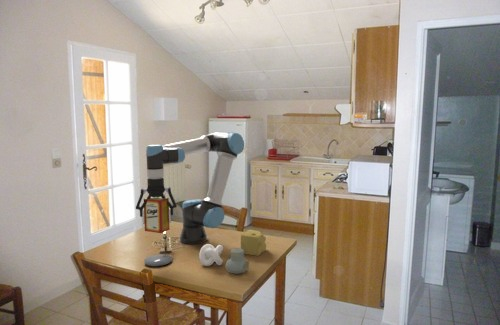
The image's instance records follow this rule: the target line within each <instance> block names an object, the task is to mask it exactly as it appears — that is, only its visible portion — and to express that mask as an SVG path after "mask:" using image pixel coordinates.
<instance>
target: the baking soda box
mask: <svg viewBox="0 0 500 325" xmlns="http://www.w3.org/2000/svg"><path fill="white" fill-rule="evenodd" d="M165 197H166V198H162V197H151V198H150V199H147V197H146V198H143V203H144V202H145V200H146V199H147V204H146V205H145V206H144V208H143V209H144V220H145V224H144V231H145V232H150V233H157V234H164V232H165V231H166V232H168V231H170V229H169V228H170V223H169V208H170V207H169V206H168V205H167V200H168V201H169V199H170V197H167V196H165ZM169 202H170V201H169Z"/></svg>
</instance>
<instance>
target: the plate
mask: <svg viewBox="0 0 500 325" xmlns="http://www.w3.org/2000/svg"><path fill="white" fill-rule="evenodd" d="M172 261H173V257H172V256H171V255H169V254H166V253H159V254H151V255H149V256H147V257H145V259H144V261H143V262H144V264H145V265H146V266H150V267H159V266H165V265H167V264H170V263H172Z"/></svg>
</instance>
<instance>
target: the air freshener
mask: <svg viewBox="0 0 500 325" xmlns="http://www.w3.org/2000/svg"><path fill="white" fill-rule="evenodd" d="M249 265H250V264H249V261H248V260H247V258H245V254H244V250H243V249H241V247H240V248H239V247H238V248H236V247H235V248H232V249H231V250H230V258H228V260H227V261H226V263H225V269H226V271H228V272H229V273H231V274H235V275H239V274H243V273H245V272H247V271H248V268H249Z"/></svg>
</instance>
